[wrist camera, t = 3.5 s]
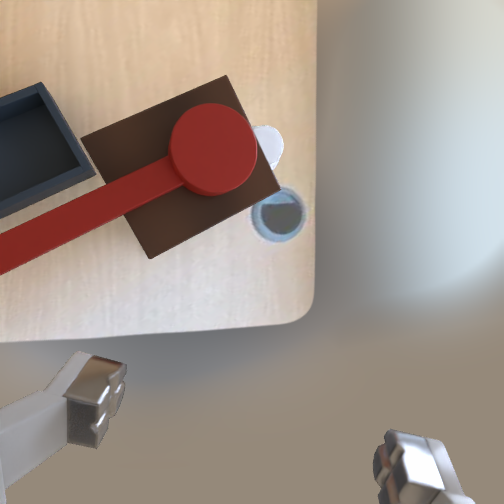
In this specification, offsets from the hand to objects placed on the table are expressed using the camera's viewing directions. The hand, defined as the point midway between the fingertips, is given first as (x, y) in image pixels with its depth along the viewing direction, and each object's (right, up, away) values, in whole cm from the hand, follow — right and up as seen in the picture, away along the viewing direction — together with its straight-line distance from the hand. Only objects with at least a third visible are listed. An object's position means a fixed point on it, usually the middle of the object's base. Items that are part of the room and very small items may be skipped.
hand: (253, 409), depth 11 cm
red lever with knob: (-7, +7, +8) cm, 13 cm away
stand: (-10, +12, +34) cm, 37 cm away
